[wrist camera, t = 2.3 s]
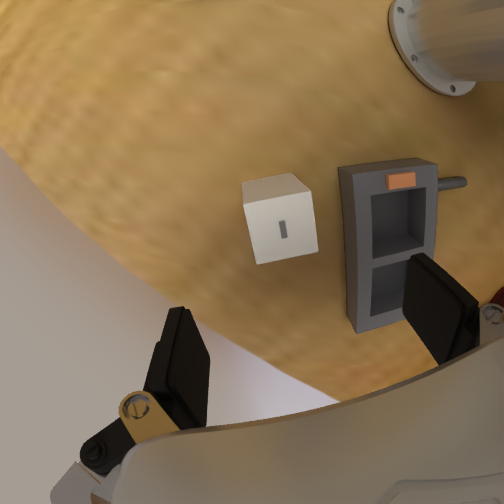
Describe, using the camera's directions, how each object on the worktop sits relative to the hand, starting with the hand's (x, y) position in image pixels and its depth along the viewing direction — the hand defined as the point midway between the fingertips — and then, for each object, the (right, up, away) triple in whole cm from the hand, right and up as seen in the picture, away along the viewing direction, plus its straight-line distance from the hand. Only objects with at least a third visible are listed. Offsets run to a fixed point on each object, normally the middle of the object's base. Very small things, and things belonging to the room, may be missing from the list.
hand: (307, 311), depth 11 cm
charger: (-1, +7, +14) cm, 15 cm away
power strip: (+15, +4, +16) cm, 22 cm away
